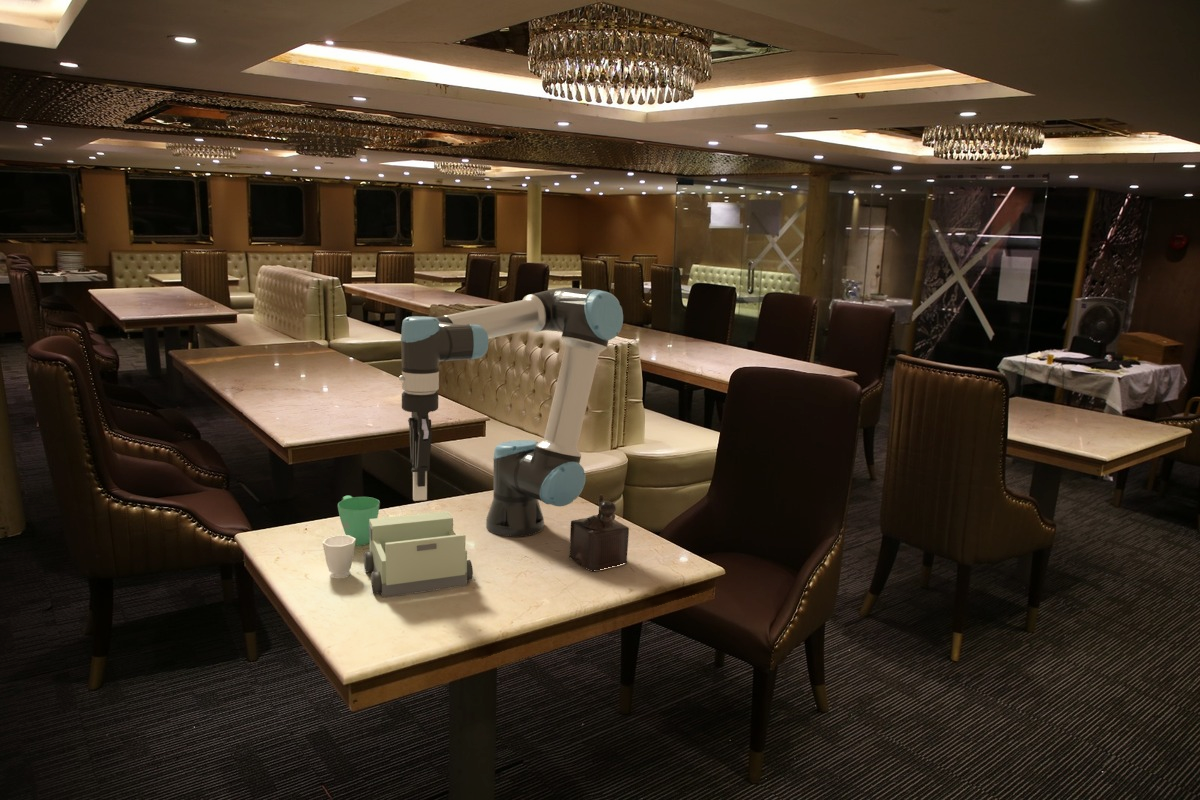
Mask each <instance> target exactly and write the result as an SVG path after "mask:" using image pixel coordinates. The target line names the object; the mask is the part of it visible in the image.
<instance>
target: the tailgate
mask: <svg viewBox="0 0 1200 800" xmlns="http://www.w3.org/2000/svg"><path fill="white" fill-rule="evenodd" d="M466 537H467V536H466V534H465V533H460V534H459V533H458V534H456V535H450V536H441V537H432V538H424V539H415V540H406V541H397V542H389V543H385V556H386V585H393V584H400V583H408V582H415V581H422V580H430V579H437V578H445V577H452V576H459V575H465V549H466Z"/></svg>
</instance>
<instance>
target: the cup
mask: <svg viewBox="0 0 1200 800" xmlns="http://www.w3.org/2000/svg"><path fill="white" fill-rule="evenodd" d="M355 541H356V538H354V537H351V536H349V535H346V534H344V535H343V534H337V535H333V536H329V537H326V538H325V539H324V540H323V541H322V547H323V552H324V556H325V563H326V566H327V569H328V572H330V573H329V577H331V578H333V579H339V580H341V579H344V578H348V577H349V576H350V575H351V571H350V570H351V568H352V564H353V562H354V561H353V560H354V554H355V548H356V547H355V546H356V545H355Z"/></svg>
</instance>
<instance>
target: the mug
mask: <svg viewBox="0 0 1200 800" xmlns="http://www.w3.org/2000/svg"><path fill="white" fill-rule="evenodd" d="M380 506H381V502H380V500H379V499H377V498H374V497H369V496H355V497H354V496H352V495H345V496H342V498H341V501H339V502H338V503H337V510H338V515H339V519H340V523H341V525H342V528H343V531H344V535H349V536H351V537H354V538H356V541H355V546H357V547H358V546H365V545H368V544H370V536H369V519H375V518H379V512H380V511H379V510H380Z"/></svg>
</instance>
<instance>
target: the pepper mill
mask: <svg viewBox="0 0 1200 800" xmlns="http://www.w3.org/2000/svg"><path fill="white" fill-rule="evenodd" d="M604 499H605V496H604V494H600V495H599V496H598V501H597V504H598V513H597V514H596V515H595V514H594V515H591V516H588V517H585V518H580V519H573V520H571V521H570V530H569V531H570V534H569V535H570V536H569V537H570V538H569V555H568V558H569V559H571V560H572V561H573V560H574V562H575V563H576V564H577V565H579V566H580V567H583V568H584V567H585V568H584V569H586V568H587V569H586V570H588V569H589V570H588V571H590V570H592V571H591V572H595V571H594V570H600V569H604V568H608V567H612V566H617V565H620V564H623V563H626V564H627V562H628V547H629V534H630V532H629V531H630V527H629V526H627V525H625V524H623V523H622V522H619V521H618V520H616V512H617V506H616V504H615V503H614V502H612V501H611V500H604Z"/></svg>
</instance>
